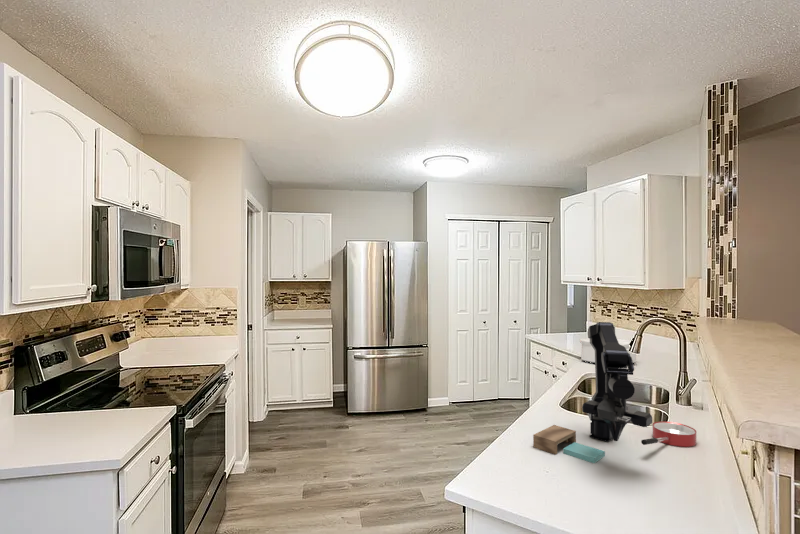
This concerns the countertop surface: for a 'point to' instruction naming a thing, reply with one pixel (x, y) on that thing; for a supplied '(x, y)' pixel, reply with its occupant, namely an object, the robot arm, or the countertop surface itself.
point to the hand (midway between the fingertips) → (616, 440)
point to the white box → (589, 351)
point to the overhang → (553, 438)
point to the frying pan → (672, 434)
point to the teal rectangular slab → (584, 452)
